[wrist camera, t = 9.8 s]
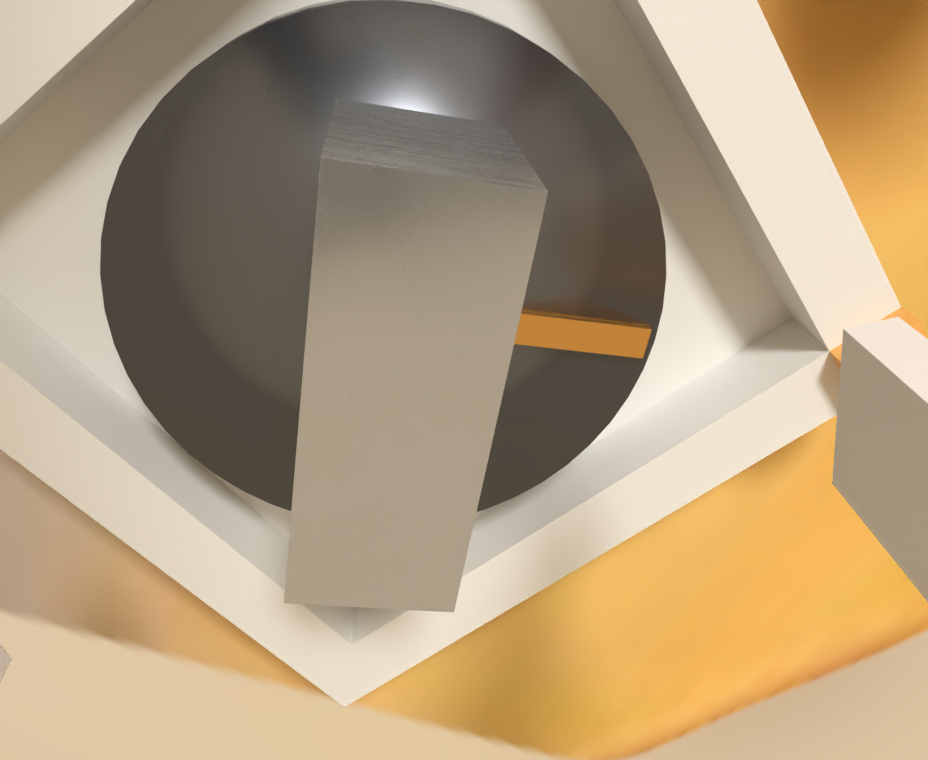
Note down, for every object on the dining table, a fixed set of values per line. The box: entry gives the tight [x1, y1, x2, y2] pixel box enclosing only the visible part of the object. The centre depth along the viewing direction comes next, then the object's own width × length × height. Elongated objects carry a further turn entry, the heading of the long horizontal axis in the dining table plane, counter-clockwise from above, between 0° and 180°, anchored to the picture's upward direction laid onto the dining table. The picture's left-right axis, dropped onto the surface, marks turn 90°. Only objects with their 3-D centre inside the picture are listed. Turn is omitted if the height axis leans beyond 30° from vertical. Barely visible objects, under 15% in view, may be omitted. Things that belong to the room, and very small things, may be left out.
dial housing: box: [0, 0, 928, 707], centre depth 20 cm, size 20×20×4 cm
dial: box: [100, 0, 666, 612], centre depth 17 cm, size 13×13×7 cm
